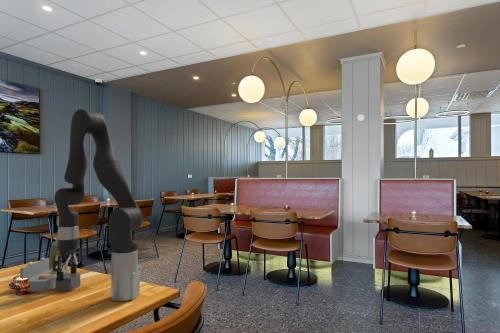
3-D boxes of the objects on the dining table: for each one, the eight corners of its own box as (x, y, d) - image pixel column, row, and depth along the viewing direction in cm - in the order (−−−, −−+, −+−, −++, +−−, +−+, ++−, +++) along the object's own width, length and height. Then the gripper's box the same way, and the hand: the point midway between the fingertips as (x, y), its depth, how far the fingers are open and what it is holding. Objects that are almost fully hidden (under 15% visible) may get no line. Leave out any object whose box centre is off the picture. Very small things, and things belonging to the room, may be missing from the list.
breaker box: (68, 279, 137) (69, 255, 138) (44, 291, 122) (44, 265, 123) (46, 278, 138) (46, 255, 138) (19, 291, 123) (19, 265, 123)
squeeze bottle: (61, 275, 143) (62, 235, 143) (43, 275, 143) (44, 235, 144) (71, 270, 151) (72, 232, 151) (55, 270, 151) (55, 232, 152)
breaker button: (51, 283, 129) (51, 273, 129) (46, 286, 125) (46, 276, 125) (44, 283, 129) (44, 273, 129) (38, 286, 126) (38, 276, 126)
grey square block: (80, 285, 129) (81, 273, 129) (70, 291, 123) (71, 278, 123) (65, 285, 129) (65, 273, 130) (54, 291, 123) (54, 278, 123)
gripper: (66, 241, 119) (64, 284, 119) (87, 234, 133) (86, 272, 133) (47, 240, 120) (45, 283, 119) (70, 233, 134) (69, 271, 133)
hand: (67, 277), depth 126 cm, fingers open, 8 cm apart
